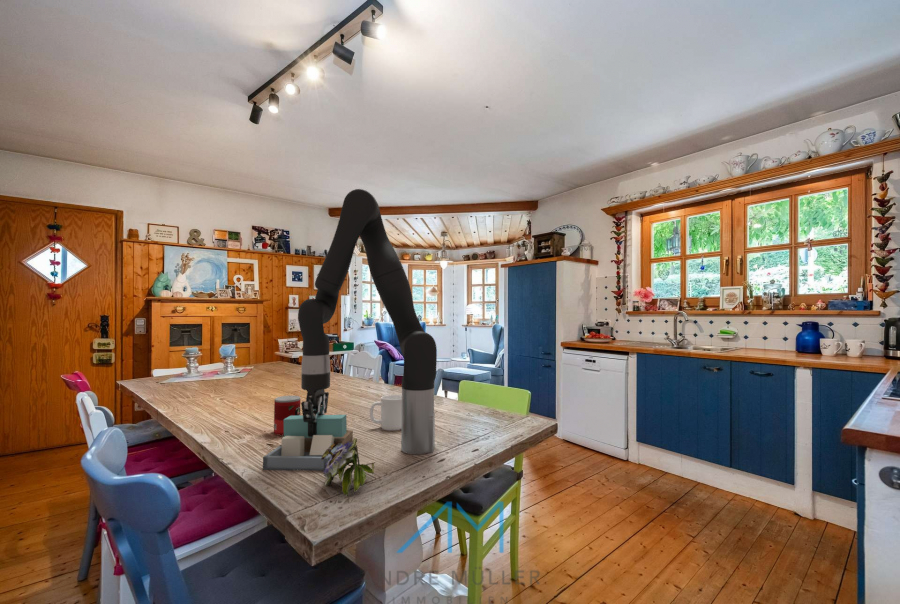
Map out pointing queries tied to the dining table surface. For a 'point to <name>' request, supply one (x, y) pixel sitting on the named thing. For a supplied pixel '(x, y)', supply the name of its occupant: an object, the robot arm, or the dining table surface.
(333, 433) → the teal rectangular block
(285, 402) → the canned food
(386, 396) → the cup
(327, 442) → the tile
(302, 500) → the dining table surface
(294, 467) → the tray
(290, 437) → the tile
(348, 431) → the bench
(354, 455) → the passion flower
